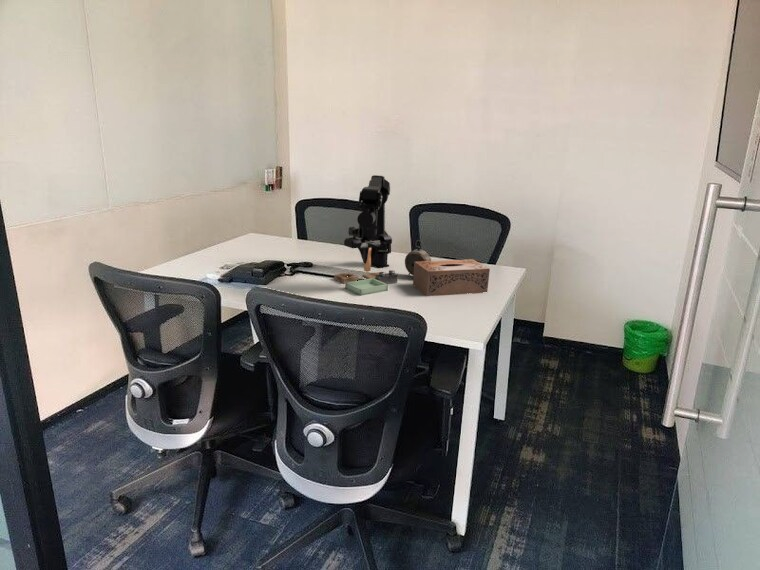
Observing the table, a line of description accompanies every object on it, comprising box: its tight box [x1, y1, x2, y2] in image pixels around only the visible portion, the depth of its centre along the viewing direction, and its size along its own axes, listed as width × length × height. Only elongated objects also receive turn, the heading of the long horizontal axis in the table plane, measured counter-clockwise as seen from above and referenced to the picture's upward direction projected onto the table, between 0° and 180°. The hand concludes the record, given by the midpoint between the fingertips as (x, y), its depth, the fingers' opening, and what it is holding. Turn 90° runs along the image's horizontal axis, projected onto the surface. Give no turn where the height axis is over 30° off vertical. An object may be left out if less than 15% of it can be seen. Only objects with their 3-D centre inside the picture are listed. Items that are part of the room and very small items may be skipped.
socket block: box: [333, 271, 359, 285], centre depth 230 cm, size 7×7×2 cm
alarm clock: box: [404, 239, 432, 277], centre depth 236 cm, size 11×5×16 cm, turn 55°
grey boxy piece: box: [375, 270, 399, 285], centre depth 228 cm, size 9×3×5 cm, turn 127°
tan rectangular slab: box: [361, 271, 387, 279], centre depth 232 cm, size 10×7×2 cm
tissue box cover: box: [412, 259, 490, 297], centre depth 224 cm, size 26×14×10 cm, turn 108°
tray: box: [345, 278, 389, 297], centre depth 219 cm, size 13×10×2 cm
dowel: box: [363, 246, 372, 272], centre depth 216 cm, size 2×2×9 cm
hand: (367, 262), depth 216 cm, fingers closed on dowel, 2 cm apart
